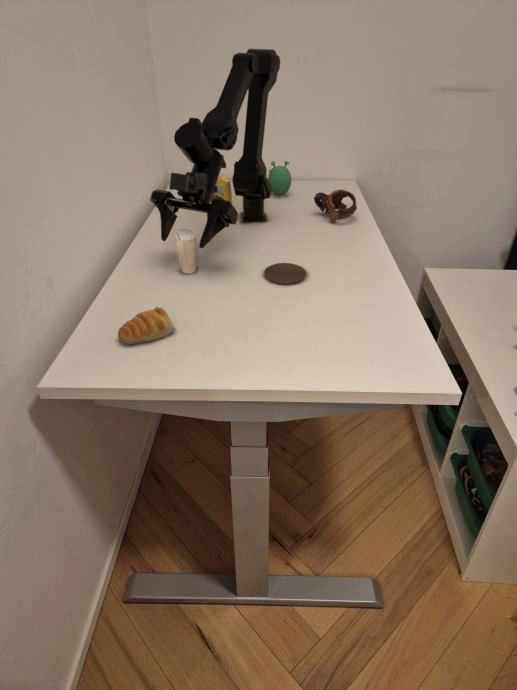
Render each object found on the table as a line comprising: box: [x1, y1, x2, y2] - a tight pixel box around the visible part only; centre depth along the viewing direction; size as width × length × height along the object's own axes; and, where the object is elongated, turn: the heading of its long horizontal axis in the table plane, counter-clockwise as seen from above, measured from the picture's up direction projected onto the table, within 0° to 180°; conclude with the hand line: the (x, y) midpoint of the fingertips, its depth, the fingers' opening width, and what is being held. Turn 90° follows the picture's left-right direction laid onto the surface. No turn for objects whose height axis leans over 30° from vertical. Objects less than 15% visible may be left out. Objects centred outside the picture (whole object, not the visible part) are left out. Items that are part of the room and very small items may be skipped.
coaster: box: [263, 262, 307, 286], centre depth 101 cm, size 9×9×1 cm
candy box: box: [210, 174, 233, 205], centre depth 135 cm, size 16×2×8 cm, turn 37°
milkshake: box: [173, 228, 197, 274], centre depth 100 cm, size 5×5×10 cm
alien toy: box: [267, 160, 292, 196], centre depth 140 cm, size 7×8×10 cm
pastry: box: [117, 306, 174, 345], centre depth 82 cm, size 9×7×4 cm
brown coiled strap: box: [313, 189, 358, 224], centre depth 126 cm, size 12×10×8 cm
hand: (181, 244), depth 98 cm, fingers open, 9 cm apart
